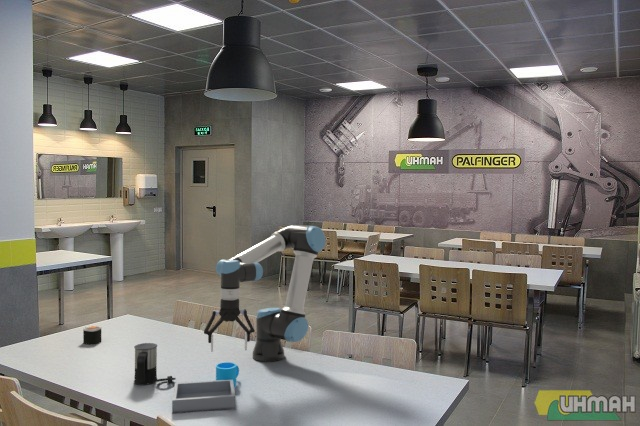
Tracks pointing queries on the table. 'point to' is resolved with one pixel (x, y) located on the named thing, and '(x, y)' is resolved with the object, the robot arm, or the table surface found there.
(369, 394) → the table surface
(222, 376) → the mug
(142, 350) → the milk frother
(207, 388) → the box
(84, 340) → the sushi
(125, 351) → the table surface
